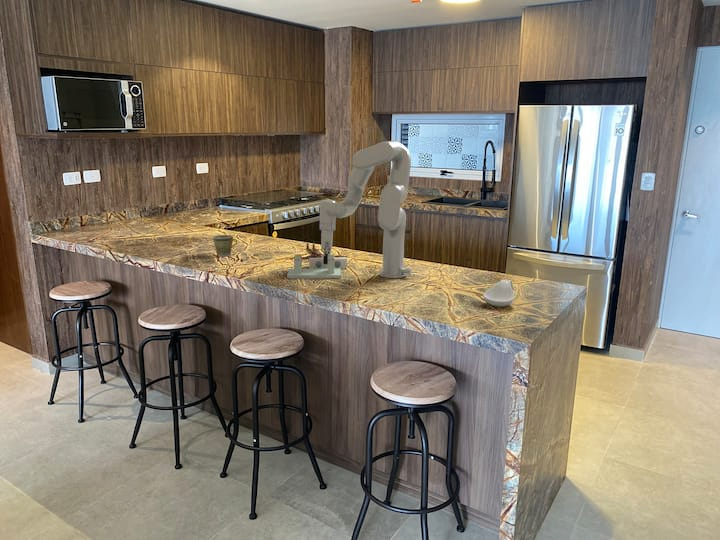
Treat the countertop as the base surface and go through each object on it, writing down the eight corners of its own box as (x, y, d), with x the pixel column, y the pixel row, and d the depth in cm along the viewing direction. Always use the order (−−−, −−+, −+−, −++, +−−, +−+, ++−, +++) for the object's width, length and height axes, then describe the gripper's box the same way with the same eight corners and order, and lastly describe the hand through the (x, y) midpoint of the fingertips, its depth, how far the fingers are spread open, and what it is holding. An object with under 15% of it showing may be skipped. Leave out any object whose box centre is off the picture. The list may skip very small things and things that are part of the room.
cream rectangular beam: (346, 267, 265) (346, 257, 264) (346, 269, 262) (347, 259, 260) (309, 267, 263) (309, 257, 262) (309, 269, 260) (309, 259, 258)
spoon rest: (510, 311, 204) (512, 293, 202) (479, 307, 209) (480, 289, 207) (521, 295, 225) (522, 278, 223) (492, 291, 229) (493, 274, 228)
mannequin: (354, 252, 299) (354, 245, 298) (340, 264, 272) (340, 255, 271) (308, 249, 305) (308, 242, 304) (290, 261, 278) (289, 252, 277)
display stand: (340, 271, 256) (340, 252, 254) (341, 278, 244) (341, 258, 242) (289, 271, 255) (288, 252, 252) (287, 278, 243) (286, 258, 241)
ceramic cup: (210, 256, 282) (209, 237, 279) (220, 252, 291) (219, 234, 288) (232, 258, 278) (231, 239, 275) (242, 254, 287) (241, 236, 285)
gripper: (320, 222, 265) (319, 257, 270) (319, 229, 249) (318, 265, 253) (335, 223, 266) (334, 257, 270) (335, 230, 249) (334, 266, 254)
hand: (326, 261), depth 262 cm, fingers open, 9 cm apart
